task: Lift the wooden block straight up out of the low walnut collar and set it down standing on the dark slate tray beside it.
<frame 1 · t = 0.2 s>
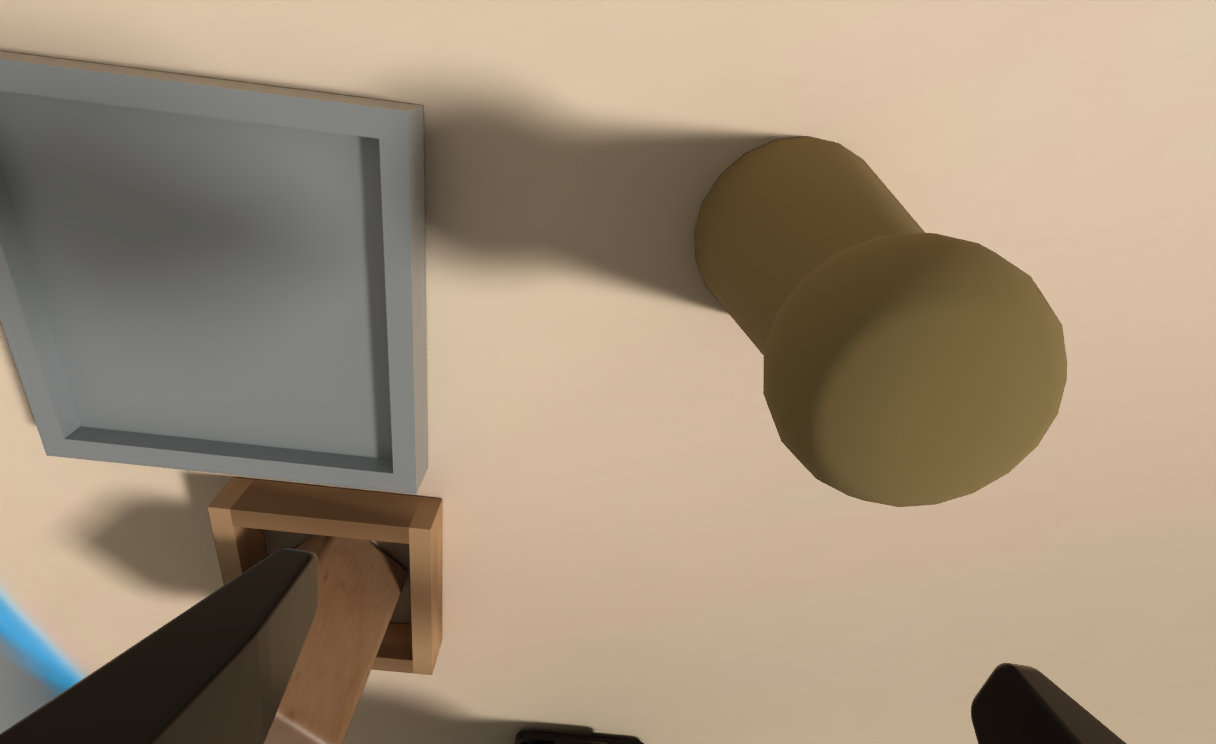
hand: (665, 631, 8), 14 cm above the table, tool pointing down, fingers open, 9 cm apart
olive pawn piece: (788, 235, 21), on the table
slate tray: (230, 288, 22), on the table
walnut collar: (345, 564, 27), on the table
wooden block: (347, 560, 27), resting in walnut collar
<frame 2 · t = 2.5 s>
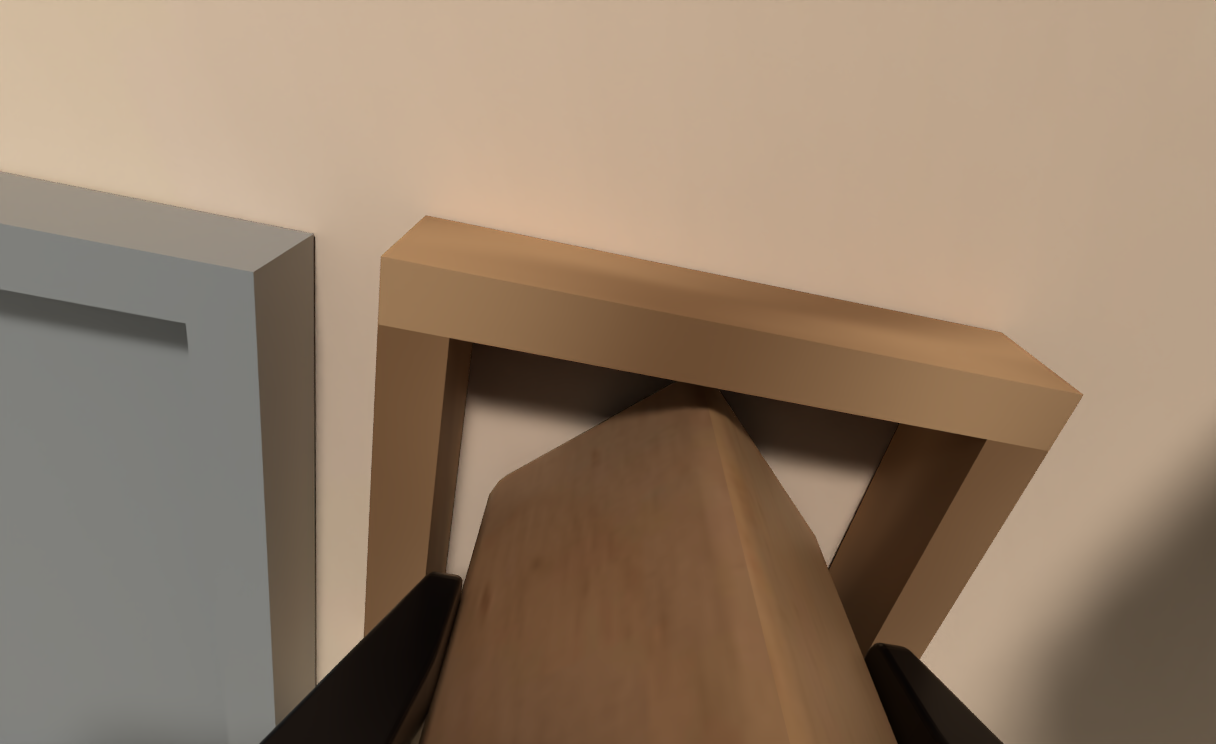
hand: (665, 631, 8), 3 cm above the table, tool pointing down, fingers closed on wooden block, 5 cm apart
walnut collar: (654, 507, 11), on the table
wooden block: (654, 499, 11), resting in walnut collar, touching gripper
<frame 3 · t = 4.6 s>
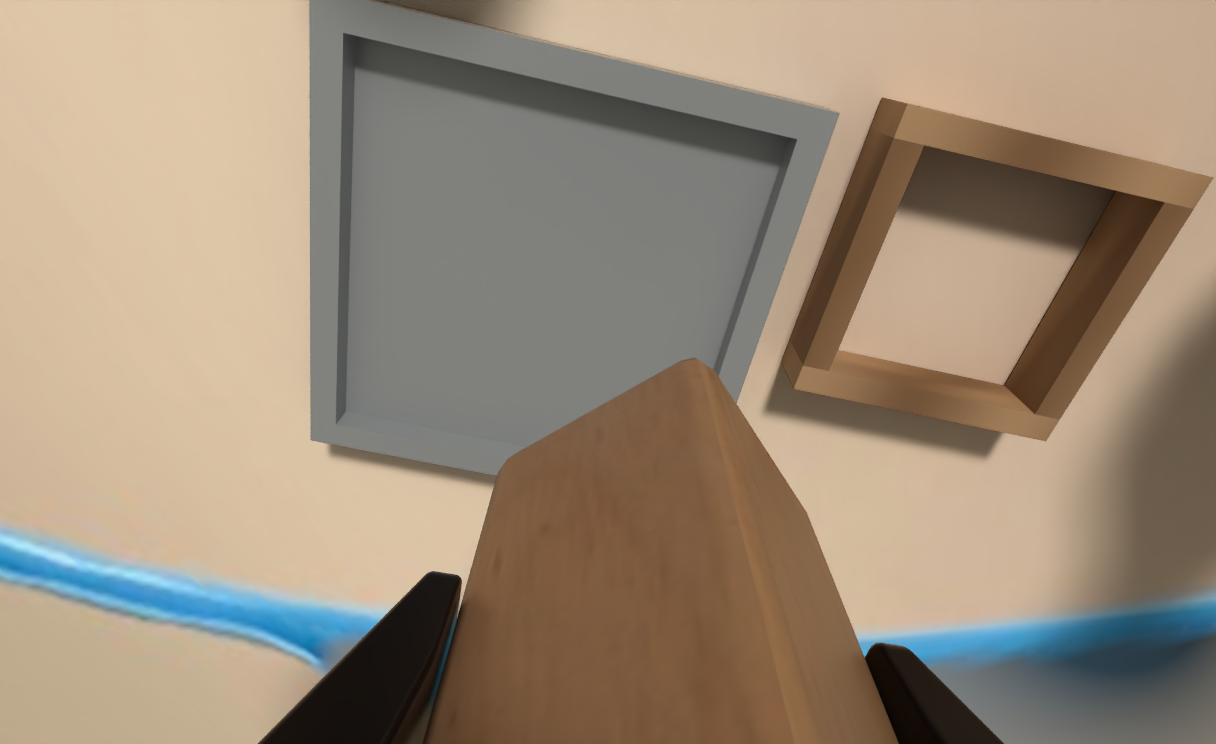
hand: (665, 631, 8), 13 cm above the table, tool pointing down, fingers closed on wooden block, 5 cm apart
slate tray: (545, 280, 20), on the table
walnut collar: (956, 271, 19), on the table
wooden block: (654, 477, 11), point 10 cm above the table, touching gripper
when the fingers open (5 cm above the table, at t = 6.8 s): wooden block stays where it is, resting on slate tray.
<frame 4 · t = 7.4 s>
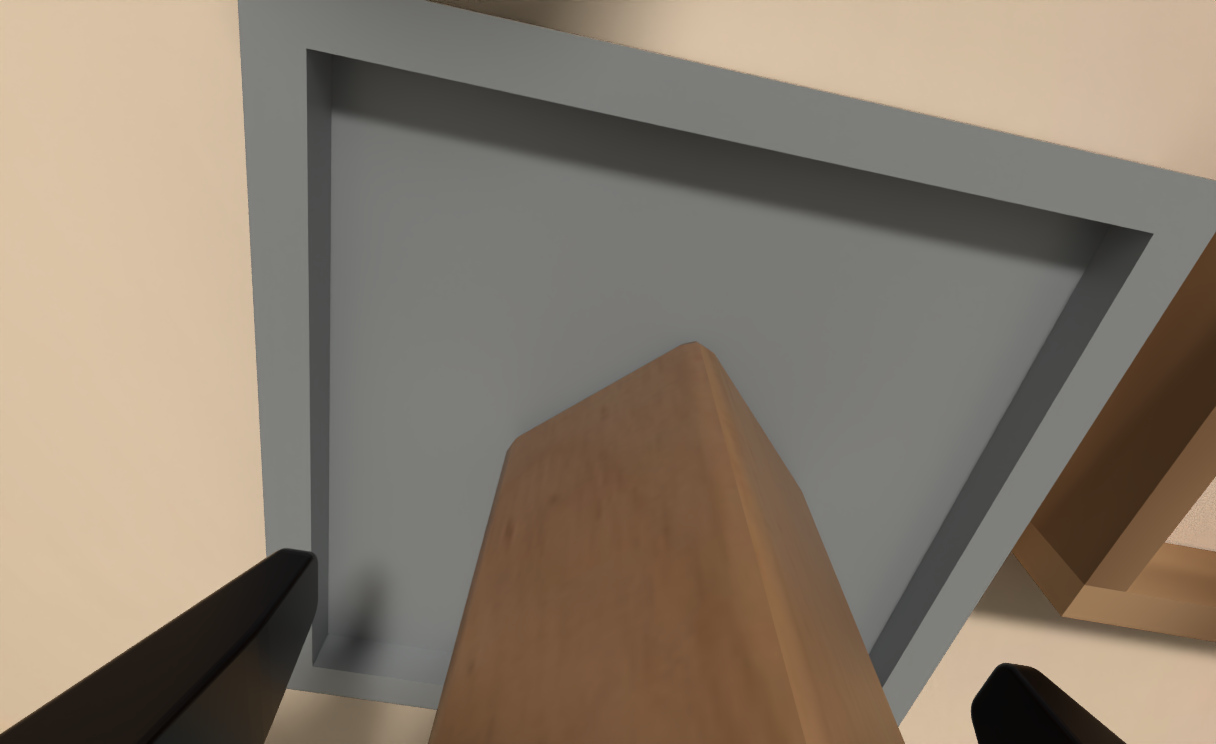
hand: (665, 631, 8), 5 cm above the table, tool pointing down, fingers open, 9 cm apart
slate tray: (648, 439, 12), on the table
wooden block: (655, 458, 12), point 1 cm above the table, touching slate tray
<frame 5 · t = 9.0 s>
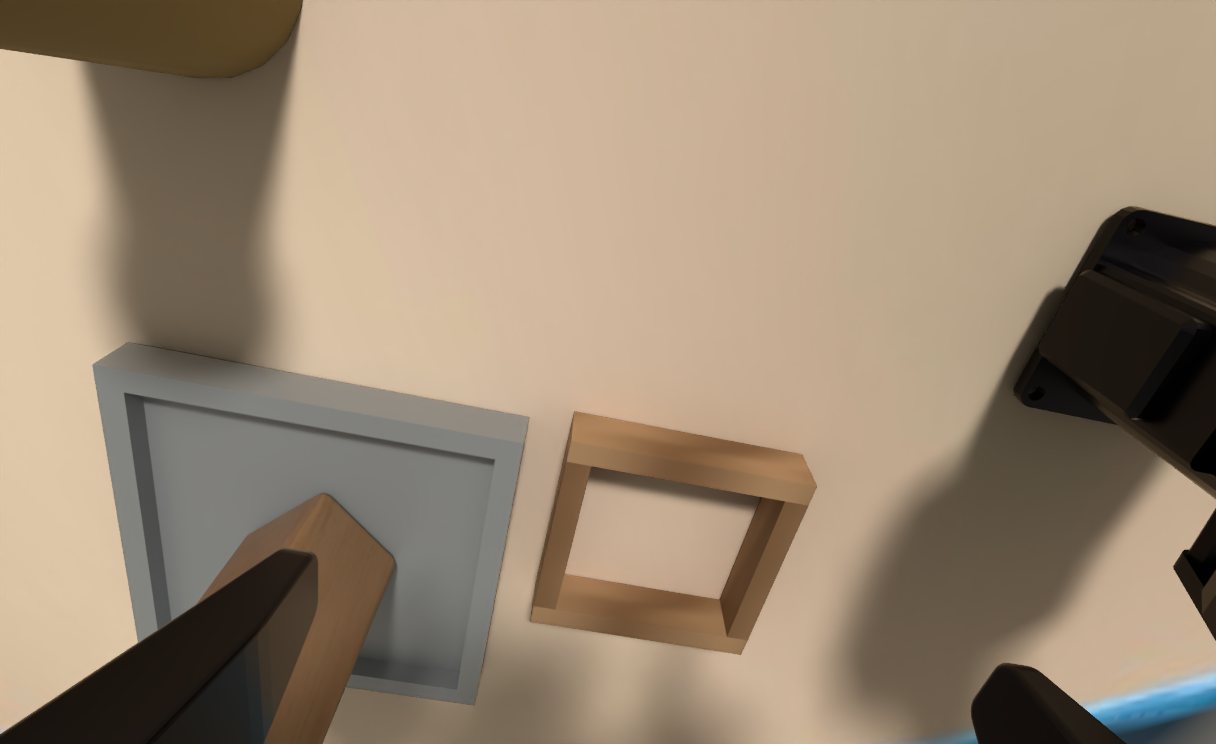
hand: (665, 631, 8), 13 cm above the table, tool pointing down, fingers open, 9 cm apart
slate tray: (330, 530, 24), on the table
walnut collar: (660, 523, 24), on the table
wooden block: (327, 541, 24), point 1 cm above the table, touching slate tray
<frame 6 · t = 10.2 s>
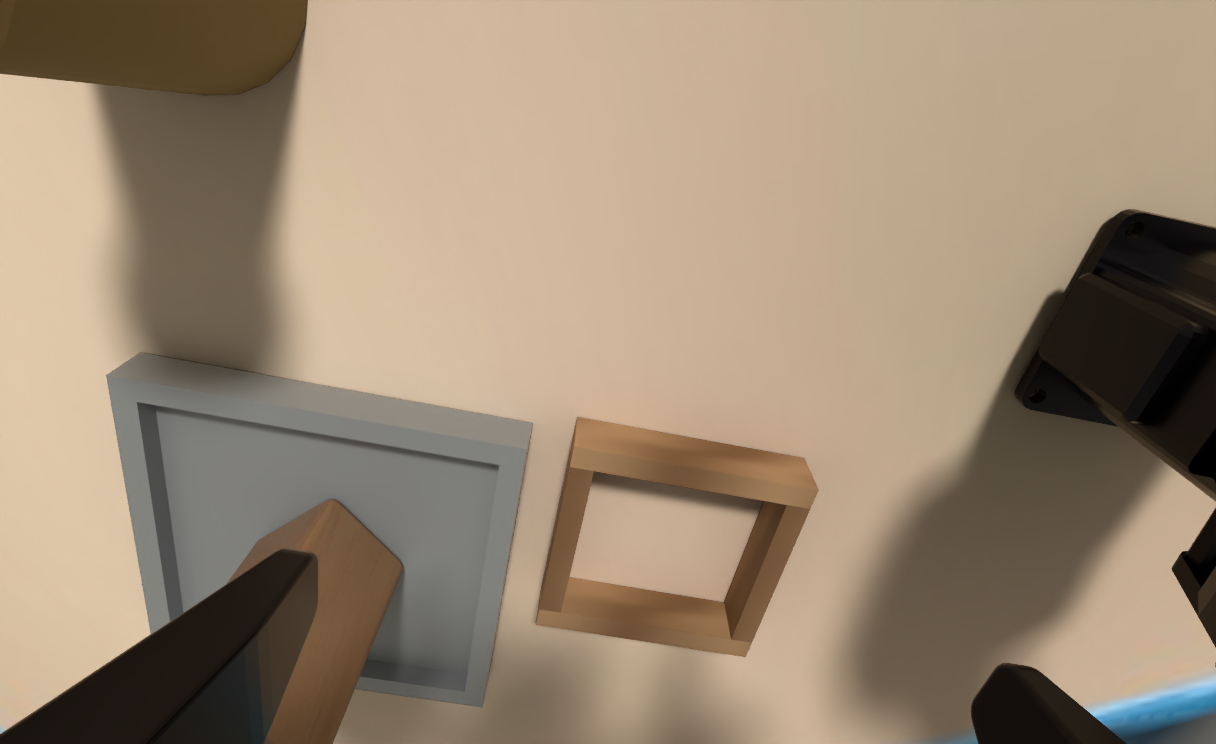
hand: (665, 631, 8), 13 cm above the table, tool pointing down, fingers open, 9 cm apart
slate tray: (339, 535, 25), on the table
walnut collar: (664, 527, 24), on the table
wooden block: (335, 546, 24), point 1 cm above the table, touching slate tray
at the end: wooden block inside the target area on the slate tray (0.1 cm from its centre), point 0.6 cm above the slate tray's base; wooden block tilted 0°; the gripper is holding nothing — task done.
